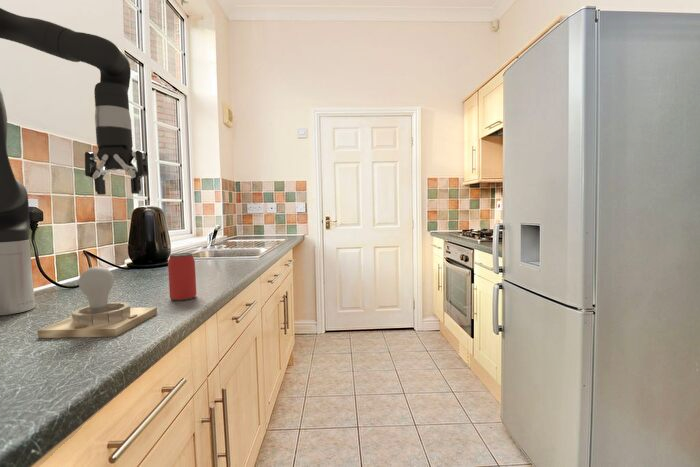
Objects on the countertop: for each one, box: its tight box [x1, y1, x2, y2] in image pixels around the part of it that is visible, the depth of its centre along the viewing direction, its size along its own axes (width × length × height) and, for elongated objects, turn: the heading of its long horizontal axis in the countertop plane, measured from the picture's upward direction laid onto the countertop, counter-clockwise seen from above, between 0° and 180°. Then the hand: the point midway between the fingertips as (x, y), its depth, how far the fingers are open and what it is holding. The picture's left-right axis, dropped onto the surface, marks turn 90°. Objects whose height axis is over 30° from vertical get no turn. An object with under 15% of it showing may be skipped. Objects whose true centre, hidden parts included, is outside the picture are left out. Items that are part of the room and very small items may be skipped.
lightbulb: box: [78, 266, 115, 314], centre depth 78 cm, size 6×6×11 cm
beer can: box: [167, 252, 197, 302], centre depth 100 cm, size 7×7×12 cm
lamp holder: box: [37, 301, 158, 339], centre depth 78 cm, size 15×15×4 cm
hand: (118, 194), depth 92 cm, fingers open, 8 cm apart
